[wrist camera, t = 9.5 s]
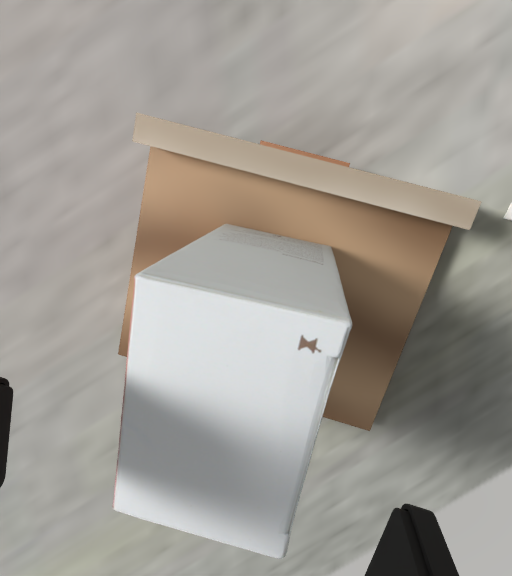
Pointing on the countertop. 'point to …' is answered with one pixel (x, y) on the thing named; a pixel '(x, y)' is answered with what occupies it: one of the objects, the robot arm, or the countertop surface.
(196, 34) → the countertop surface
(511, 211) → the soap bar
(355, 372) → the shelf board
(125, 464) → the small box
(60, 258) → the countertop surface
